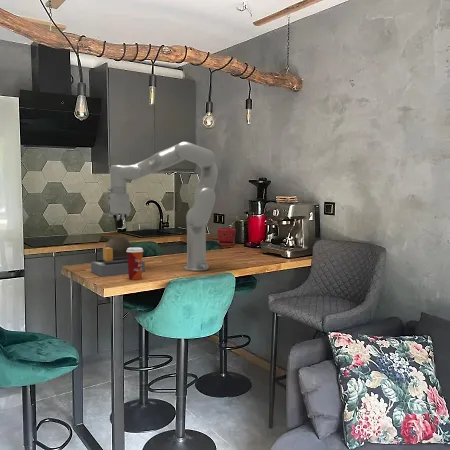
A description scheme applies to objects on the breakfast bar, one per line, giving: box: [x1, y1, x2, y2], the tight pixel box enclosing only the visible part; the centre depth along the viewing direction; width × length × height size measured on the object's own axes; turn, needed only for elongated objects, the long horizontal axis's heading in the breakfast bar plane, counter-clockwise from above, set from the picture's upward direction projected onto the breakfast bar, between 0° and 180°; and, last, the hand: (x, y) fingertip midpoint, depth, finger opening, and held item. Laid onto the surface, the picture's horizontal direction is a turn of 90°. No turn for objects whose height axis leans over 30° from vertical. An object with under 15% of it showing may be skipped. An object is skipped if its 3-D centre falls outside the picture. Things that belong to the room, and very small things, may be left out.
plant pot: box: [216, 227, 237, 247], centre depth 328 cm, size 13×13×12 cm
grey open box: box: [90, 257, 146, 278], centre depth 225 cm, size 14×22×6 cm, turn 126°
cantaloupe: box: [104, 236, 132, 258], centre depth 244 cm, size 14×14×15 cm
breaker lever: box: [102, 247, 113, 262], centre depth 222 cm, size 5×3×8 cm, turn 36°
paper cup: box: [126, 246, 144, 281], centre depth 209 cm, size 8×8×14 cm
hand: (119, 228), depth 224 cm, fingers closed
